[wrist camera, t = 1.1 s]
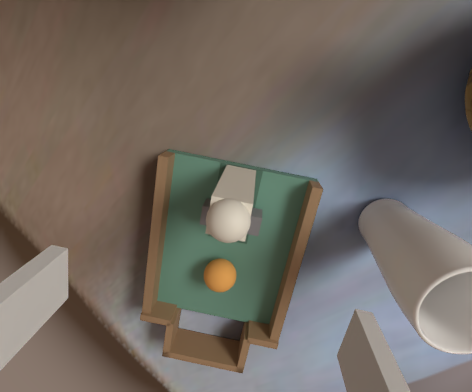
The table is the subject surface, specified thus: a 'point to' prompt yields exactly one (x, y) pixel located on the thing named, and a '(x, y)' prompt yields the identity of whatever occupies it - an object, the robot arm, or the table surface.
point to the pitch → (238, 253)
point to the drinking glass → (423, 272)
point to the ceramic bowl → (469, 100)
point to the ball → (220, 275)
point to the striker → (232, 207)
